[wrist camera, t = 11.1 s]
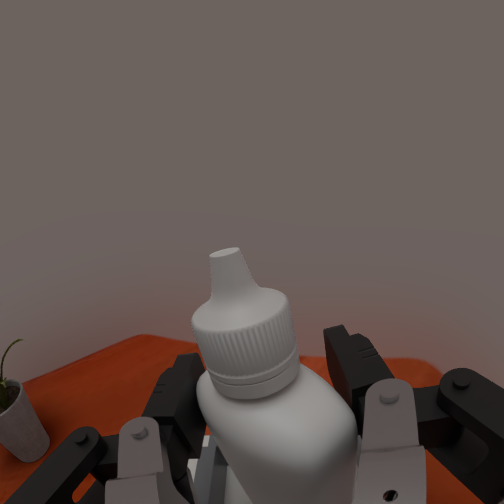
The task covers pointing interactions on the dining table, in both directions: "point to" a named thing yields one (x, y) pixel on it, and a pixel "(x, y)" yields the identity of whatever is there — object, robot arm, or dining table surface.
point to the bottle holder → (225, 476)
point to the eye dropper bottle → (269, 395)
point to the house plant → (20, 422)
